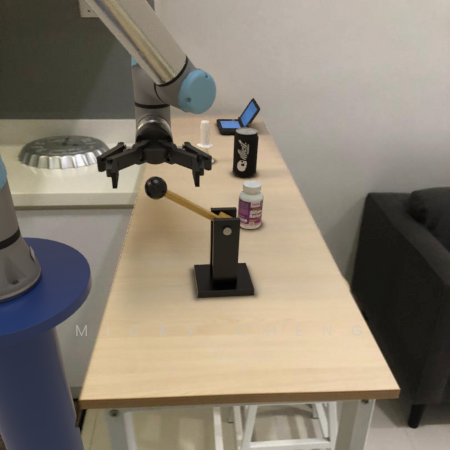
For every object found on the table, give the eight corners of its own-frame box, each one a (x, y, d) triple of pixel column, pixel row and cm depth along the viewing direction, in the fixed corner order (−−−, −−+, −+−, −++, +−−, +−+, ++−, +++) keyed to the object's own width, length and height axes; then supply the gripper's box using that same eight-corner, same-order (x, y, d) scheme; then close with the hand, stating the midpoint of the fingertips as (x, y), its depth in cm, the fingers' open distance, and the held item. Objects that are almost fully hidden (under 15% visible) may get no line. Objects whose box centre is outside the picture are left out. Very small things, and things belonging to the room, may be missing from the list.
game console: (215, 122, 172) (216, 96, 167) (252, 123, 174) (253, 97, 168) (219, 135, 160) (220, 107, 154) (258, 135, 161) (260, 108, 156)
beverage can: (229, 176, 129) (231, 132, 122) (236, 168, 134) (238, 125, 127) (252, 179, 127) (255, 135, 120) (258, 171, 132) (261, 128, 125)
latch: (140, 196, 72) (150, 177, 70) (140, 187, 75) (150, 169, 73) (227, 240, 79) (239, 223, 77) (224, 230, 81) (235, 213, 80)
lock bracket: (197, 297, 81) (197, 226, 73) (193, 270, 89) (193, 203, 81) (253, 294, 83) (259, 224, 75) (245, 268, 90) (250, 201, 82)
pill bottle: (252, 232, 102) (255, 190, 97) (232, 225, 105) (234, 184, 99) (265, 223, 106) (269, 183, 100) (246, 217, 108) (249, 177, 103)
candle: (197, 164, 136) (197, 122, 129) (194, 158, 140) (194, 116, 133) (215, 163, 137) (216, 121, 130) (212, 157, 141) (213, 116, 134)
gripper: (215, 158, 97) (230, 199, 80) (93, 159, 94) (81, 203, 77) (216, 121, 93) (232, 156, 76) (88, 121, 90) (74, 158, 73)
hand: (156, 180), depth 76 cm, fingers open, 13 cm apart
